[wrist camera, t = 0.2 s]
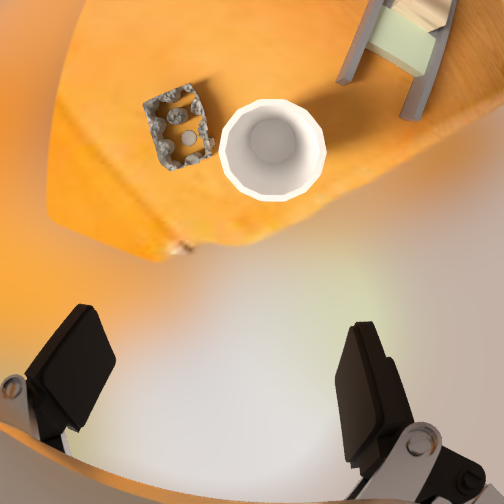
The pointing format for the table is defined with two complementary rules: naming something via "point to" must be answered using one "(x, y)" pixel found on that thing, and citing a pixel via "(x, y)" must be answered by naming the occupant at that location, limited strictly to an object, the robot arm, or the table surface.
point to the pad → (401, 42)
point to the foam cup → (272, 150)
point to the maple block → (423, 12)
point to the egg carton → (176, 118)
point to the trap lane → (421, 83)
